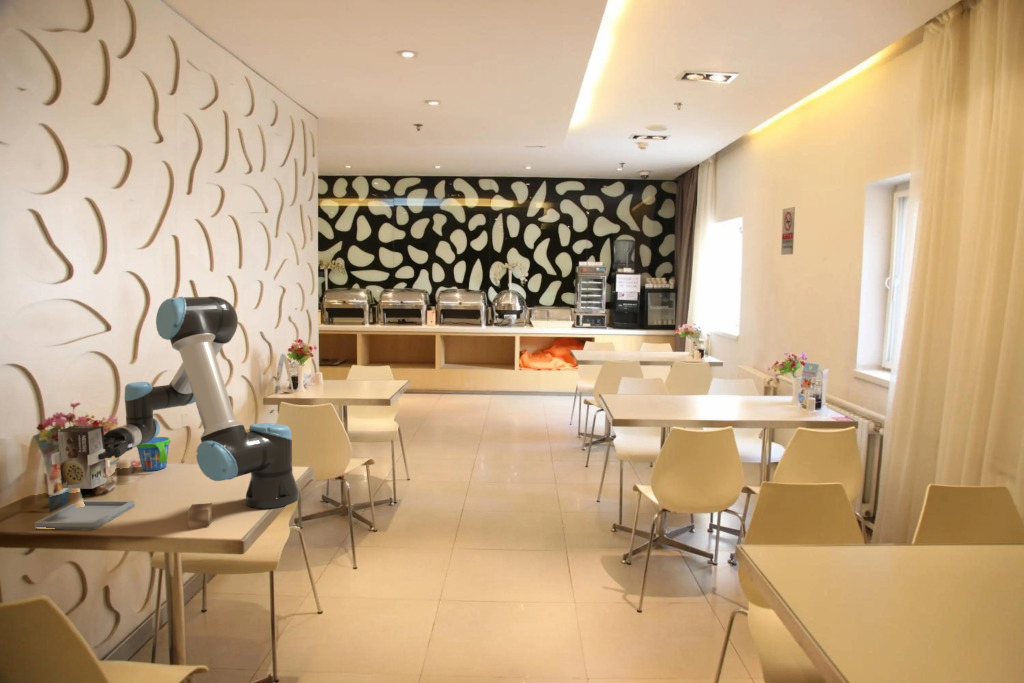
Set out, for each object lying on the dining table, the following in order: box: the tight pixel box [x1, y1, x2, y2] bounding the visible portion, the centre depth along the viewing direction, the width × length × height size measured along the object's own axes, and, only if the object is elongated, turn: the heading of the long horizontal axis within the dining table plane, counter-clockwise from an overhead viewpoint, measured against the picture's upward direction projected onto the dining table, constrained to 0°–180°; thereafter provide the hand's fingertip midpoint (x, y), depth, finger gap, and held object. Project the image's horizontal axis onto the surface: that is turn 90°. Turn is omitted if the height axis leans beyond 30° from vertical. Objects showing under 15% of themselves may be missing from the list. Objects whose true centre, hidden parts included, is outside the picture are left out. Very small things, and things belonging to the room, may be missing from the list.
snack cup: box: [135, 436, 171, 472], centre depth 234 cm, size 16×10×10 cm
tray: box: [33, 499, 135, 531], centre depth 186 cm, size 16×18×2 cm
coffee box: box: [57, 425, 107, 490], centre depth 185 cm, size 9×6×16 cm
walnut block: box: [187, 502, 214, 529], centre depth 181 cm, size 5×5×5 cm
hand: (71, 459), depth 180 cm, fingers closed on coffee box, 9 cm apart
